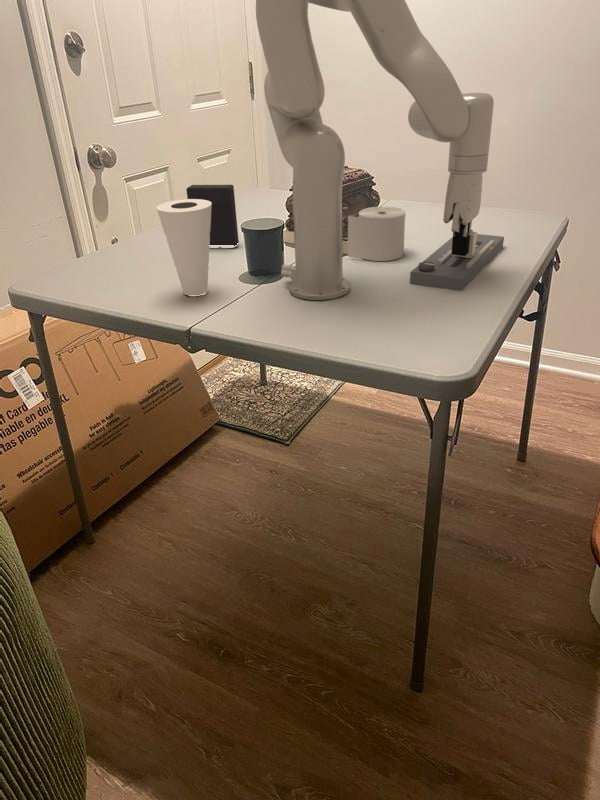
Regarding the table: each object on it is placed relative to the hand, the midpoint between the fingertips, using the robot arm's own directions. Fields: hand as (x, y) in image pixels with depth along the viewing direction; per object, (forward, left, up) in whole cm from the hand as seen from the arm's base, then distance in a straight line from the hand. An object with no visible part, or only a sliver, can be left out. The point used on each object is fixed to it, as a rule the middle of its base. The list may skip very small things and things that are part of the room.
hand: (459, 253), depth 132 cm
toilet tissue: (-21, +5, -5) cm, 22 cm away
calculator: (-62, -4, -4) cm, 62 cm away
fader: (0, +4, -1) cm, 4 cm away
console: (-2, +6, -4) cm, 7 cm away
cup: (-46, -33, -4) cm, 56 cm away
